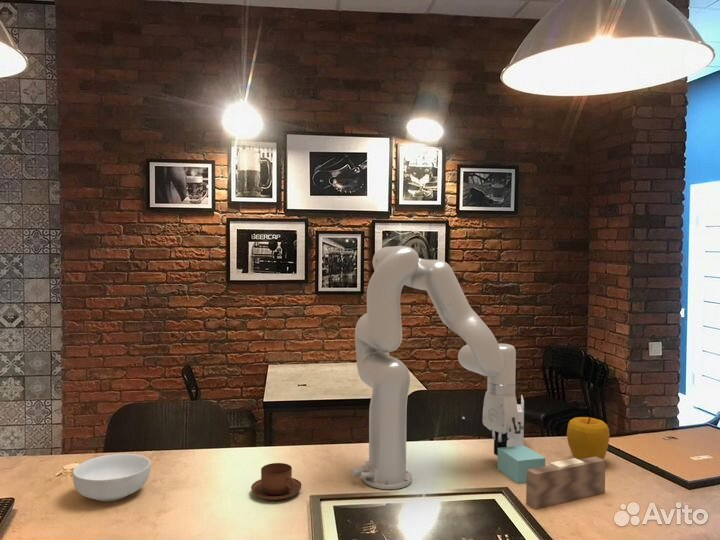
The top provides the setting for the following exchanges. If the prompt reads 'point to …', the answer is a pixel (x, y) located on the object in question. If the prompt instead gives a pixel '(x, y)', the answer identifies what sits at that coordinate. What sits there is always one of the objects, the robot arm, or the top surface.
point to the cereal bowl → (111, 476)
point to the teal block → (518, 462)
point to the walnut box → (565, 481)
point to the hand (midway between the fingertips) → (500, 454)
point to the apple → (587, 437)
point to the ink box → (520, 430)
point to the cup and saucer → (276, 482)
